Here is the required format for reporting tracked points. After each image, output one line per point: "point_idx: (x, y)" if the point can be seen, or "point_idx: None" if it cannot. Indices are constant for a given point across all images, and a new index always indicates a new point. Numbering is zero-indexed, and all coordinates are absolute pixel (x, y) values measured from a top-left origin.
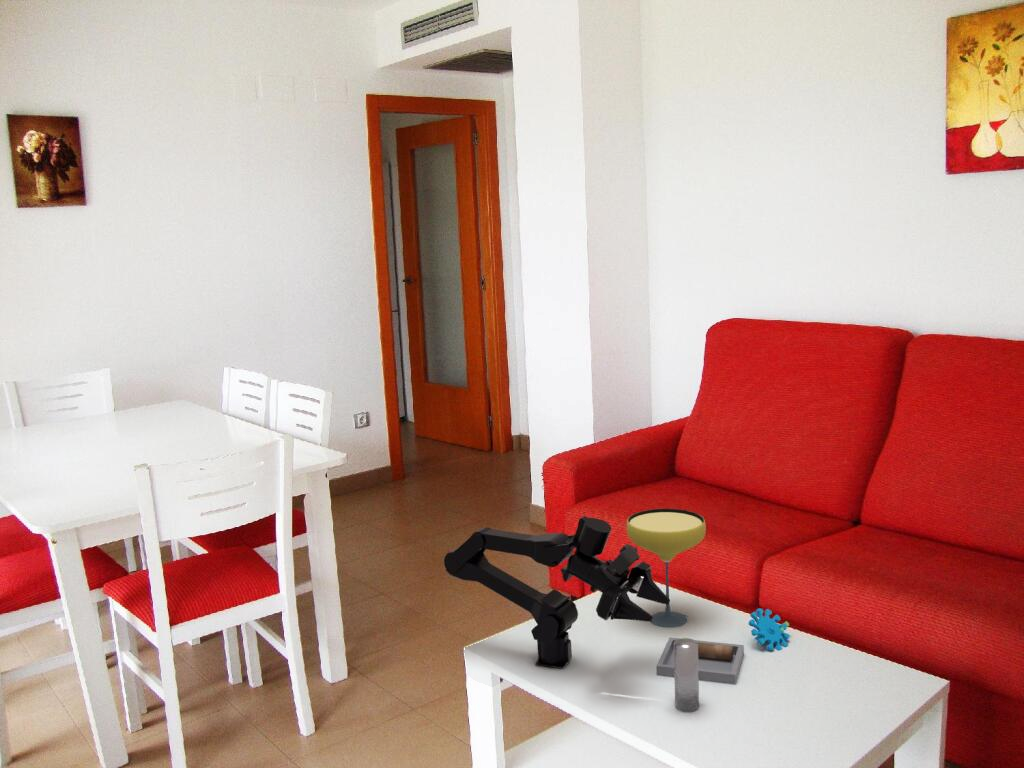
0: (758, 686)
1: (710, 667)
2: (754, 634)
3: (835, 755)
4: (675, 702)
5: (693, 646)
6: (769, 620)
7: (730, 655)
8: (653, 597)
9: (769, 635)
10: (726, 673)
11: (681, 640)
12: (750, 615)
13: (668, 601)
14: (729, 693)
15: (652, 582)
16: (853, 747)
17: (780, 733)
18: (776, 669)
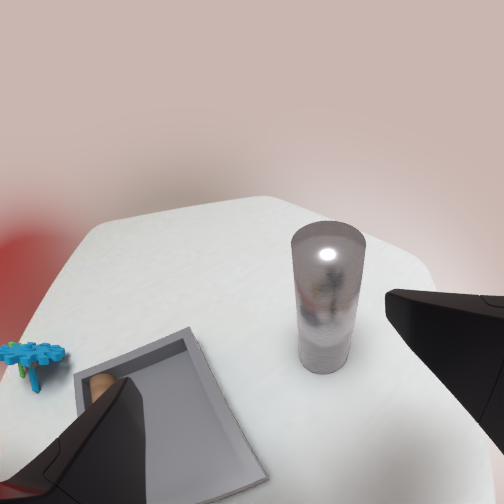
0: (174, 319)
1: (158, 407)
2: (48, 358)
3: (273, 201)
4: (346, 356)
5: (325, 223)
6: (13, 349)
7: (115, 377)
8: (131, 482)
9: (41, 349)
10: (193, 340)
11: (324, 258)
12: (10, 364)
13: (132, 384)
14: (225, 335)
15: (28, 479)
16: (248, 202)
17: (278, 239)
18: (110, 328)
